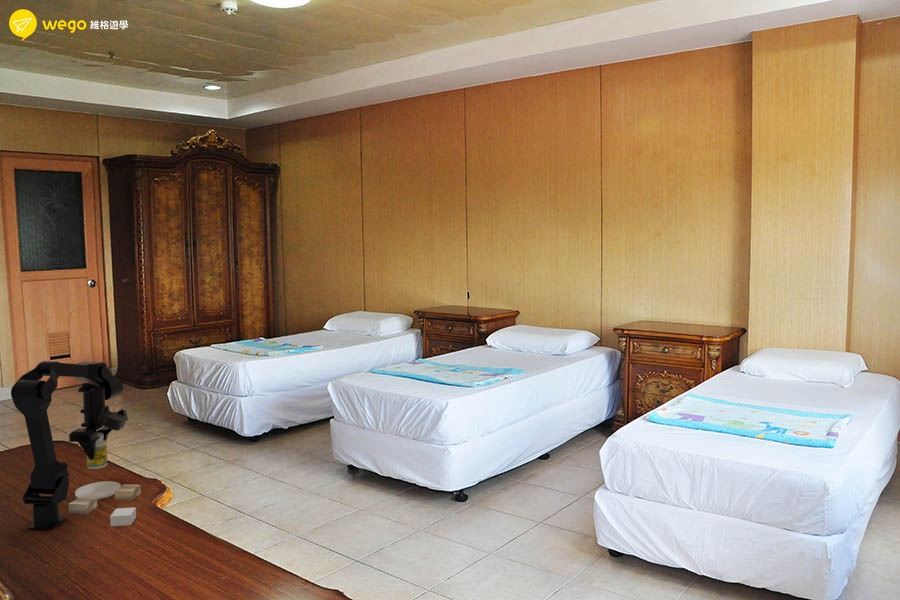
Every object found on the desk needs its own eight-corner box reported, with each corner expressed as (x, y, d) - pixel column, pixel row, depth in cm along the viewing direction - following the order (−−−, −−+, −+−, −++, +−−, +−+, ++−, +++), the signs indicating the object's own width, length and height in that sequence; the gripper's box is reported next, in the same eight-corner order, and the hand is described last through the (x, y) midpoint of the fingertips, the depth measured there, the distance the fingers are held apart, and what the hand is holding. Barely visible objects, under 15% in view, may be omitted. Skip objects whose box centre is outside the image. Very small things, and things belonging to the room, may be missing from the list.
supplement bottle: (104, 462, 203) (102, 430, 202) (110, 466, 199) (108, 434, 198) (84, 466, 199) (83, 434, 198) (90, 470, 195) (88, 438, 194)
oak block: (132, 501, 194) (131, 491, 194) (115, 500, 194) (114, 490, 194) (140, 494, 199) (140, 484, 198) (124, 494, 199) (123, 484, 199)
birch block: (86, 515, 184) (85, 504, 184) (69, 514, 185) (68, 503, 184) (97, 507, 189) (96, 497, 189) (80, 507, 190) (79, 496, 189)
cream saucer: (109, 500, 194) (109, 496, 194) (67, 500, 194) (66, 496, 193) (127, 484, 206) (127, 481, 206) (87, 484, 205) (87, 481, 205)
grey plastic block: (130, 526, 178) (130, 515, 177) (110, 527, 177) (110, 516, 177) (136, 518, 183) (135, 507, 182) (116, 519, 182) (116, 508, 182)
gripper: (107, 412, 188) (109, 467, 190) (135, 396, 207) (137, 446, 208) (66, 412, 188) (69, 467, 189) (98, 396, 206) (100, 446, 208)
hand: (96, 456), depth 198 cm, fingers closed on supplement bottle, 5 cm apart
